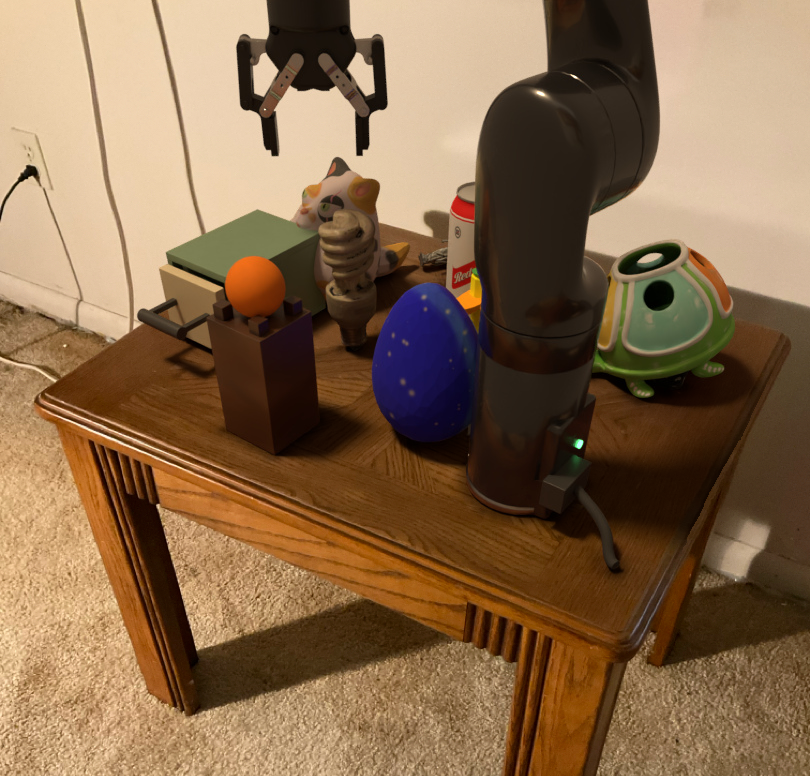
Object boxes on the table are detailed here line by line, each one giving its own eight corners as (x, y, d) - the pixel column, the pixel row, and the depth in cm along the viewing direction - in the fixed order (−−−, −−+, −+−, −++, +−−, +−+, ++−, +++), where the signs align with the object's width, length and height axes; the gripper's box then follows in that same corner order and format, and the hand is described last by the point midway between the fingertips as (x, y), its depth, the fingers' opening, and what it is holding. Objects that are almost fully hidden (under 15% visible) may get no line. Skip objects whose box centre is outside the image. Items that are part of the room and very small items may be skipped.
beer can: (501, 352, 89) (517, 205, 78) (443, 351, 89) (451, 204, 78) (498, 322, 93) (512, 179, 82) (443, 321, 93) (449, 178, 82)
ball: (300, 311, 71) (295, 256, 68) (259, 335, 68) (252, 279, 65) (258, 294, 73) (251, 240, 70) (217, 316, 70) (208, 261, 67)
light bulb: (354, 368, 86) (349, 229, 76) (315, 350, 89) (305, 213, 78) (387, 345, 90) (386, 209, 79) (349, 329, 92) (343, 195, 81)
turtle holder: (557, 361, 93) (528, 268, 85) (723, 309, 88) (707, 206, 80) (568, 426, 84) (536, 329, 77) (753, 373, 79) (738, 264, 71)
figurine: (250, 268, 96) (288, 137, 89) (359, 287, 108) (401, 173, 101) (304, 314, 90) (350, 177, 83) (414, 329, 102) (462, 210, 95)
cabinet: (242, 358, 88) (230, 279, 81) (181, 329, 92) (165, 251, 85) (326, 308, 95) (321, 231, 89) (266, 283, 99) (257, 209, 93)
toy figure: (462, 391, 84) (470, 282, 75) (435, 378, 85) (440, 269, 77) (502, 365, 87) (514, 258, 79) (476, 352, 89) (485, 246, 80)
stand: (320, 422, 80) (310, 298, 70) (274, 455, 76) (257, 329, 67) (272, 399, 82) (256, 276, 73) (226, 429, 79) (203, 304, 69)
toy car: (678, 394, 83) (683, 377, 82) (645, 385, 84) (649, 367, 83) (698, 357, 88) (703, 340, 87) (667, 348, 89) (671, 331, 88)
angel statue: (473, 246, 106) (480, 274, 105) (413, 252, 104) (420, 281, 103) (480, 227, 102) (487, 256, 101) (417, 233, 101) (424, 263, 100)
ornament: (499, 437, 78) (516, 293, 68) (428, 478, 74) (434, 330, 63) (422, 387, 84) (426, 247, 73) (352, 422, 80) (345, 278, 69)
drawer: (192, 376, 84) (179, 311, 78) (138, 348, 87) (121, 285, 82) (305, 309, 93) (300, 247, 88) (252, 286, 97) (244, 226, 92)
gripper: (219, -30, 69) (244, 168, 81) (388, -29, 70) (388, 167, 81) (228, -47, 74) (250, 141, 86) (385, -47, 75) (386, 140, 86)
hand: (317, 153), depth 83 cm, fingers open, 8 cm apart
